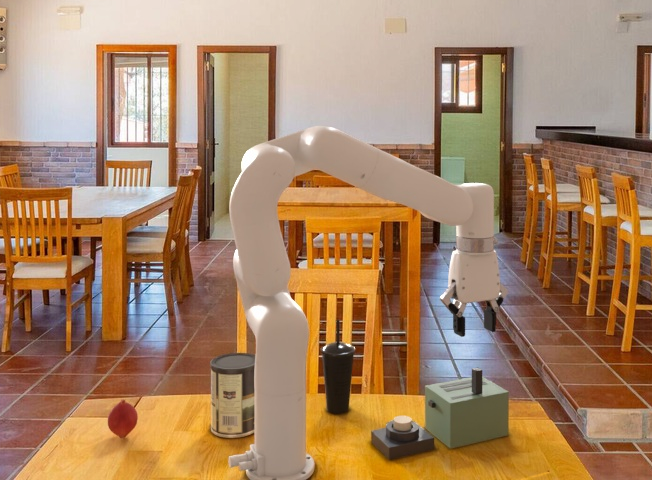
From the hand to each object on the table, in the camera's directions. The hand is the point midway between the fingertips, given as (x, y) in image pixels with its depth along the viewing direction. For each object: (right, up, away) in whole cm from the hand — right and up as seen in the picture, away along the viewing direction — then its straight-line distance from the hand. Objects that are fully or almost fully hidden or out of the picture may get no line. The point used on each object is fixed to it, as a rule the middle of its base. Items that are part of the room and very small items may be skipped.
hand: (474, 331), depth 143 cm
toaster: (-1, -22, +3) cm, 22 cm away
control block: (-15, -22, -3) cm, 27 cm away
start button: (-15, -18, -3) cm, 24 cm away
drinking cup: (-28, -22, +14) cm, 38 cm away
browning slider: (+1, -12, 0) cm, 13 cm away
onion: (-72, -22, 0) cm, 75 cm away
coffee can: (-49, -22, +5) cm, 54 cm away
